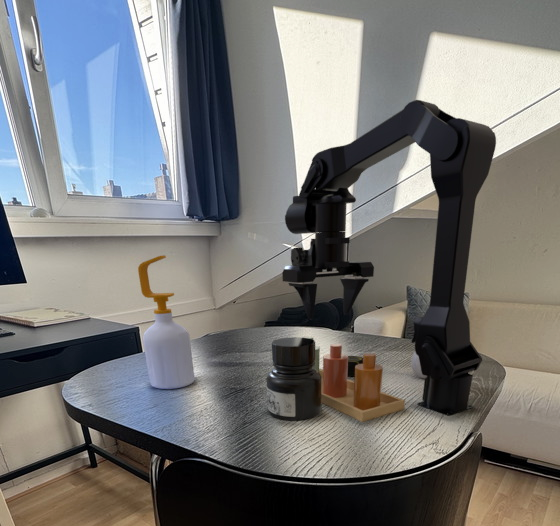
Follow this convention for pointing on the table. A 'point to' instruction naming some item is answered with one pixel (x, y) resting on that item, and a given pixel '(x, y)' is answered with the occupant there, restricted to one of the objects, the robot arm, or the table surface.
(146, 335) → the soap bottle
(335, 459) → the table surface
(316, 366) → the sage bottle
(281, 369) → the ink bottle
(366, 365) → the amber bottle
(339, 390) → the terracotta bottle
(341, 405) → the tray
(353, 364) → the tape measure
